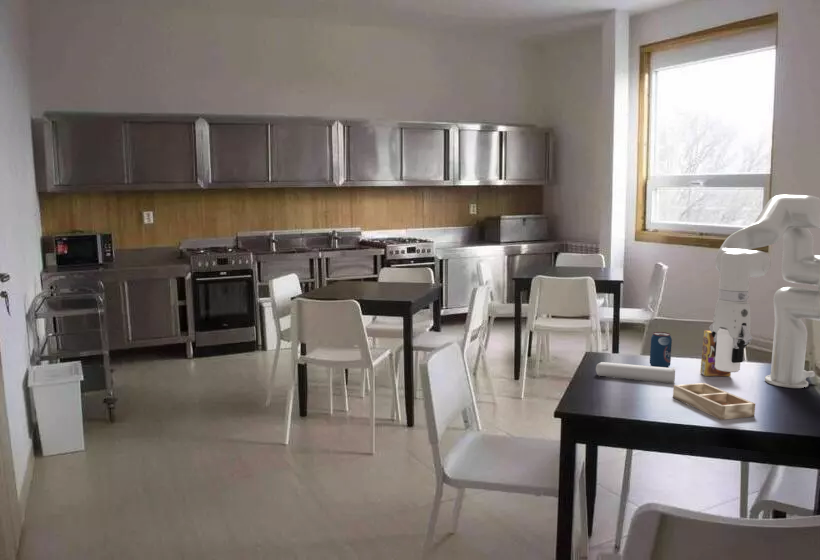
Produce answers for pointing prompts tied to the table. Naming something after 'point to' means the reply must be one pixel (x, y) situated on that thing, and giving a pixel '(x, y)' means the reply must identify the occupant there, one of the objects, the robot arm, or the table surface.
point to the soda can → (660, 349)
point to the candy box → (709, 357)
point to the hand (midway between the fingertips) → (728, 358)
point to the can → (725, 352)
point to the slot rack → (714, 401)
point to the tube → (636, 372)
